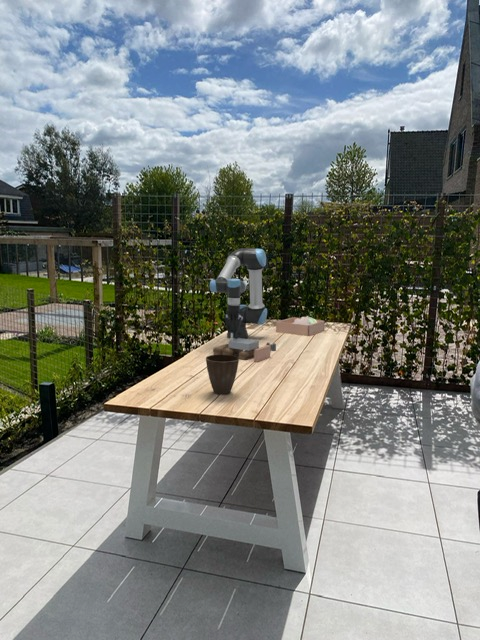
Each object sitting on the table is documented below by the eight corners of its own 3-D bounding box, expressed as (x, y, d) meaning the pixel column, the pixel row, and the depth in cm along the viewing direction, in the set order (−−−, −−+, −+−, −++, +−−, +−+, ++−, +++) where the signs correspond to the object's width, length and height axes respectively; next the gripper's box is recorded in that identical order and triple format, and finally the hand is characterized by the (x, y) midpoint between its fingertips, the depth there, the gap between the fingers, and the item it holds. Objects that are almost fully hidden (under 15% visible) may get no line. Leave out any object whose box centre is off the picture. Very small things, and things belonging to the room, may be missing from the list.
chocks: (227, 350, 310) (227, 349, 310) (259, 355, 299) (259, 354, 299) (213, 354, 297) (213, 354, 297) (245, 360, 285) (246, 359, 285)
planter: (292, 326, 405) (293, 317, 403) (324, 330, 391) (324, 320, 389) (276, 332, 379) (276, 321, 378) (308, 336, 365) (309, 325, 364)
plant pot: (198, 391, 223) (199, 357, 220) (222, 385, 233) (223, 352, 231) (220, 399, 212) (221, 363, 210) (245, 392, 223) (246, 358, 220)
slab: (238, 344, 303) (239, 338, 302) (258, 347, 296) (258, 340, 295) (228, 347, 293) (228, 341, 292) (248, 350, 286) (248, 344, 285)
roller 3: (252, 354, 301) (252, 347, 301) (259, 355, 299) (258, 347, 298) (238, 359, 288) (238, 351, 287) (245, 360, 285) (245, 352, 285)
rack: (267, 349, 316) (267, 342, 315) (275, 350, 313) (276, 343, 312) (255, 353, 302) (255, 346, 302) (263, 355, 299) (264, 347, 299)
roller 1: (227, 350, 310) (227, 342, 310) (234, 351, 308) (234, 343, 307) (213, 355, 297) (212, 346, 296) (220, 356, 294) (220, 347, 294)
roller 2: (236, 351, 307) (236, 343, 306) (243, 353, 304) (243, 345, 304) (222, 356, 294) (222, 347, 293) (229, 358, 291) (229, 349, 290)
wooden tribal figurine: (286, 322, 396) (315, 314, 392) (291, 339, 394) (320, 331, 390) (284, 320, 382) (314, 312, 378) (289, 338, 380) (319, 330, 376)
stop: (267, 356, 296) (267, 345, 295) (270, 356, 295) (270, 345, 294) (254, 361, 282) (254, 349, 281) (257, 362, 281) (257, 350, 280)
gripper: (221, 304, 295) (220, 342, 298) (239, 306, 288) (238, 345, 291) (228, 303, 301) (227, 340, 305) (246, 305, 294) (245, 343, 298)
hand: (232, 343), depth 298 cm, fingers closed
